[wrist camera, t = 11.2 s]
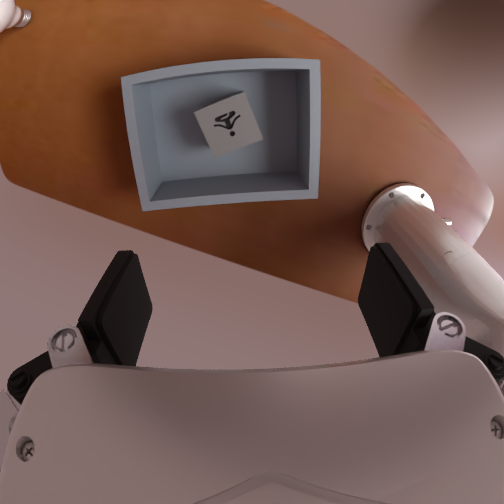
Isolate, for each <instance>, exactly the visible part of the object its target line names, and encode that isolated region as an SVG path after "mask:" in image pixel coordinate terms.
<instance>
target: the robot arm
mask: <svg viewBox="0 0 504 504" xmlns="http://www.w3.org/2000/svg"><path fill="white" fill-rule="evenodd" d="M451 224H452V221H451V219H450V218H441V217H440V216H439V215H438V214H437V213H436V212H434V206H433V202H432V200H431V198H430V196H429V195H428V194H427V192H425V191H424V190H423V189H422V188H420V187H418V186H417V185H414V184H411V183H400V184H395V185H393V186H390V187H388V188H386V189H385V190H383V191H382V192H381V193H379V194H378V195H377V196H376V197H375V198H374V199H373V201H372V202H371V203H370V205H369V206H368V208H367V210H366V212H365V215H364V217H363V221H362V226H361V234H362V239H363V242H364V244H365V246H366V248H367V249H368V251H369V255H368V260H367V264H366V269H365V273H364V277H363V281H362V285H361V289H360V293H359V297H358V304H359V307H360V309H361V311H362V314H363V316H364V318H365V321H366V323H367V326H368V328H369V331H370V333H371V336H372V338H373V341H374V343H375V346H376V349H377V351H378V354H379V356H380V357H379V358H373V359H365V360H358V361H351V362H343V363H334V364H325V365H314V366H302V367H290V368H273V369H243V370H195V369H194V370H193V369H167V368H150V367H136V362H137V359H138V356H139V352H140V349H141V345H142V342H143V339H144V336H145V332H146V329H147V326H148V322H149V320H150V317H151V314H152V303H151V300H150V296H149V293H148V290H147V287H146V283H145V280H144V277H143V273H142V269H141V266H140V262H139V258H138V255H137V254H134V253H133V251H131V250H129V251H128V250H127V251H118V252H117V254H116V255H115V257H114V258H113V260H112V262H111V263H110V265H109V266H108V268H107V270H106V271H105V273H104V275H103V276H102V278H101V280H100V281H99V283H98V285H97V287H96V288H95V290H94V292H93V294H92V295H91V297H90V299H89V301H88V303H87V304H86V306H85V308H84V310H83V312H82V314H81V315H80V317H79V319H78V321H79V322H78V324H77V326H76V327H75V326H72V325H67V326H63V327H60V328H58V329H57V330H55V331H54V332H53V333H52V334H51V336H50V337H49V339H48V343H47V347H48V351H47V352H45V353H43V354H41V355H40V356H38V357H36V358H35V359H33V360H31V361H29V362H28V363H26V364H24V365H23V366H21V367H19V368H17V369H16V370H15V371H13V373H12V374H11V375H10V377H9V379H8V383H7V388H8V390H7V391H5V390H4V389H3V390H2V391H1V392H0V504H504V280H503V279H502V278H501V276H500V275H498V273H497V272H496V271H495V270H494V269H493V268H492V267H491V266H490V265H489V264H488V263H487V262H486V261H485V260H484V259H483V258H482V257H481V256H480V255H479V254H478V253H477V252H476V251H475V250H474V249H473V248H472V247H471V246H470V245H469V244H468V243H467V242H466V241H465V240H464V239H463V238H462V237H461V236H460V235H459V234H458V233H457V232H456V231H455V230H454V229H452V228H451V227H450V226H451Z"/></svg>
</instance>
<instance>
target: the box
mask: <svg viewBox="0 0 504 504" xmlns="http://www.w3.org/2000/svg"><path fill="white" fill-rule="evenodd" d="M121 85H122V94H123V102H124V110H125V118H126V125H127V132H128V138H129V144H130V150H131V156H132V162H133V167H134V172H135V178H136V183H137V188H138V192H139V197H140V202H141V206H142V211H151V210H160V209H170V208H180V207H191V206H202V205H214V204H227V203H241V202H256V201H274V200H294V199H318V187H319V164H320V125H321V82H320V60H314V59H294V58H254V59H233V60H220V61H210V62H201V63H193V64H185V65H179V66H172V67H167V68H161V69H156V70H151V71H146V72H141V73H137V74H132V75H128V76H124V77H121ZM241 91H244V92H245V95H246V97H247V100H248V102H249V105H250V107H251V109H252V112H253V114H254V117H255V119H256V122H257V124H258V127H259V129H260V132H261V135H262V137H263V140H260V141H257V142H254V143H252V144H249V145H246V146H244V147H241V148H239V149H236V150H233V151H231V152H228V153H226V154H223V155H221V156H218V157H216V158H214V156H213V153H212V151H211V149H210V147H209V145H208V142H207V140H206V138H205V136H204V134H203V131H202V129H201V127H200V125H199V123H198V120H197V118H196V116H195V114H194V112H195V111H196V110H198V109H199V108H201V107H204V106H206V105H208V104H211V103H213V102H216V101H218V100H221V99H223V98H226V97H228V96H231V95H233V94H236V93H239V92H241Z"/></svg>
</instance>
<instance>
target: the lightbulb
mask: <svg viewBox="0 0 504 504" xmlns="http://www.w3.org/2000/svg"><path fill="white" fill-rule="evenodd" d="M30 18H31V11H30V10H25V9H20V8H19V7H18V6H16V5H15V1H14V0H0V33H1V32H2V31H3V30H5V29H8V28H11V27H24V26H25V25H26V24H27V23H28V22H29V21H30Z"/></svg>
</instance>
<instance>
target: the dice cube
mask: <svg viewBox="0 0 504 504" xmlns="http://www.w3.org/2000/svg"><path fill="white" fill-rule="evenodd" d="M194 114H195V116H196V118H197V120H198V123H199V125H200V127H201V129H202V131H203V134H204V136H205V138H206V140H207V142H208V145H209V147H210V149H211V151H212V153H213V156H214V158H216V157H218V156H221V155H223V154H226V153H228V152H231V151H233V150H236V149H239V148H241V147H244V146H246V145H249V144H252V143H254V142H257V141H260V140H263V137H262V135H261V132H260V129H259V127H258V124H257V122H256V119H255V117H254V114H253V112H252V109H251V107H250V105H249V102H248V100H247V97H246V95H245V92H244V91H241V92H239V93H236V94H233V95H231V96H228V97H226V98H223V99H221V100H218V101H216V102H213V103H211V104H208V105H206V106H204V107H201V108H199V109H198V110H196V111H195V112H194Z"/></svg>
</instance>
